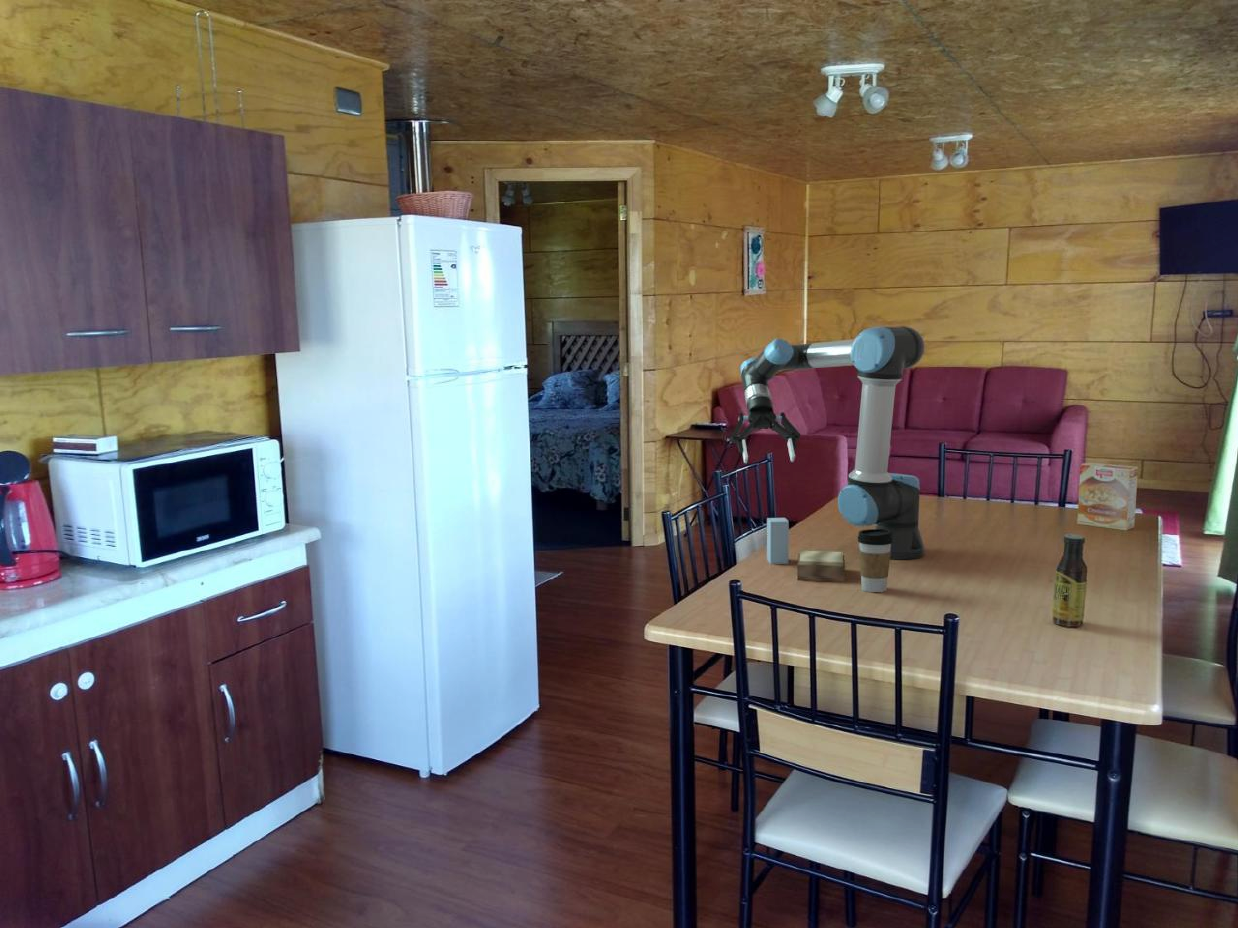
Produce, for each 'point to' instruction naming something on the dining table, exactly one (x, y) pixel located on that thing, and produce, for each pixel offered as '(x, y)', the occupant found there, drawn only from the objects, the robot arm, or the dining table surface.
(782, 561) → the block
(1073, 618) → the sauce bottle
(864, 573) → the coffee cup
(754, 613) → the dining table surface
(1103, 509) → the coffeecake box
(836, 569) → the pedestal
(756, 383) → the robot arm
